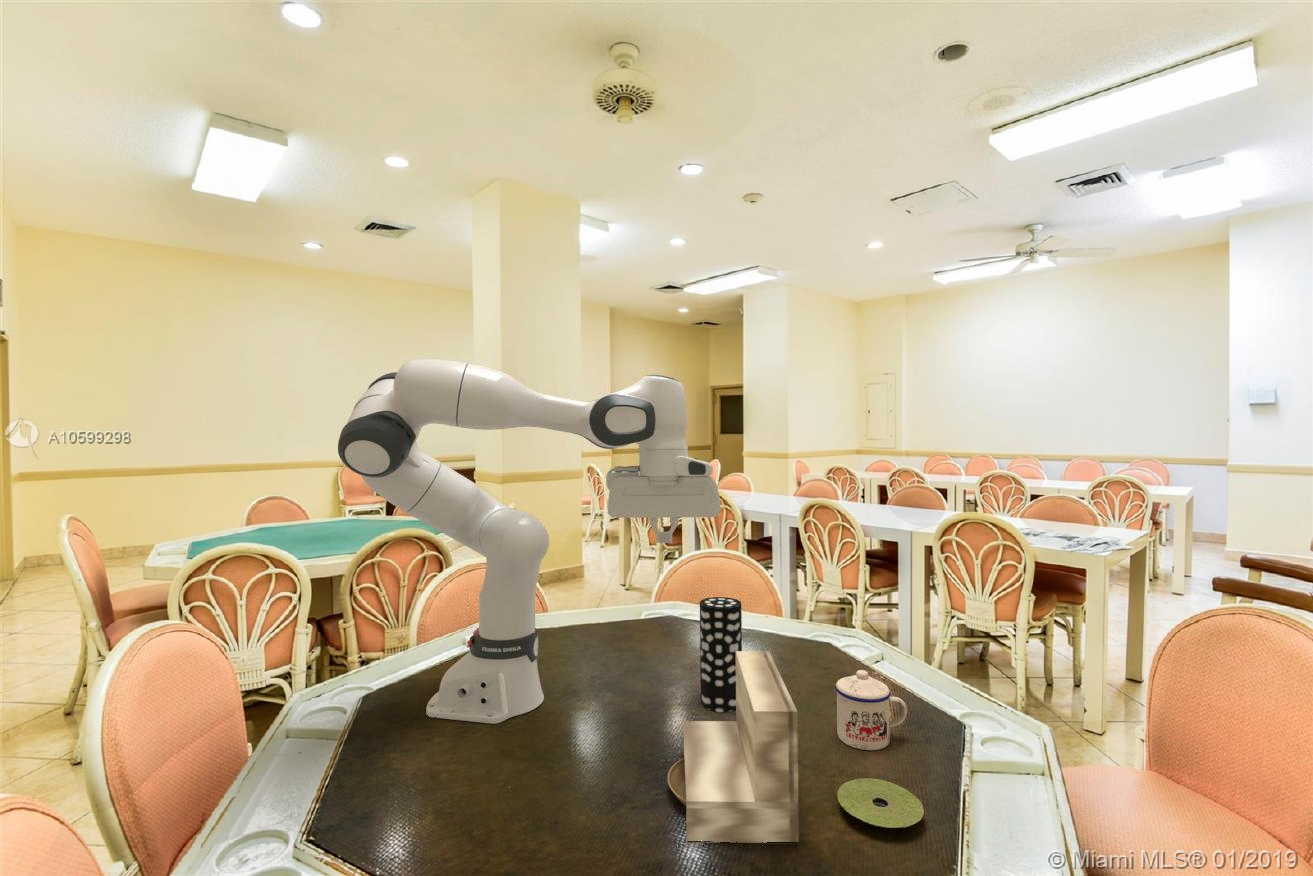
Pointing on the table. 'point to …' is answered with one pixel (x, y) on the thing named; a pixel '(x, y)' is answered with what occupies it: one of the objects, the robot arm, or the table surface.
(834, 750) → the table surface
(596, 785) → the table surface
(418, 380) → the robot arm
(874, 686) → the teacup with lid
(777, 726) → the wooden step block
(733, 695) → the white-spotted black cylinder
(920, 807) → the green disc with hole
